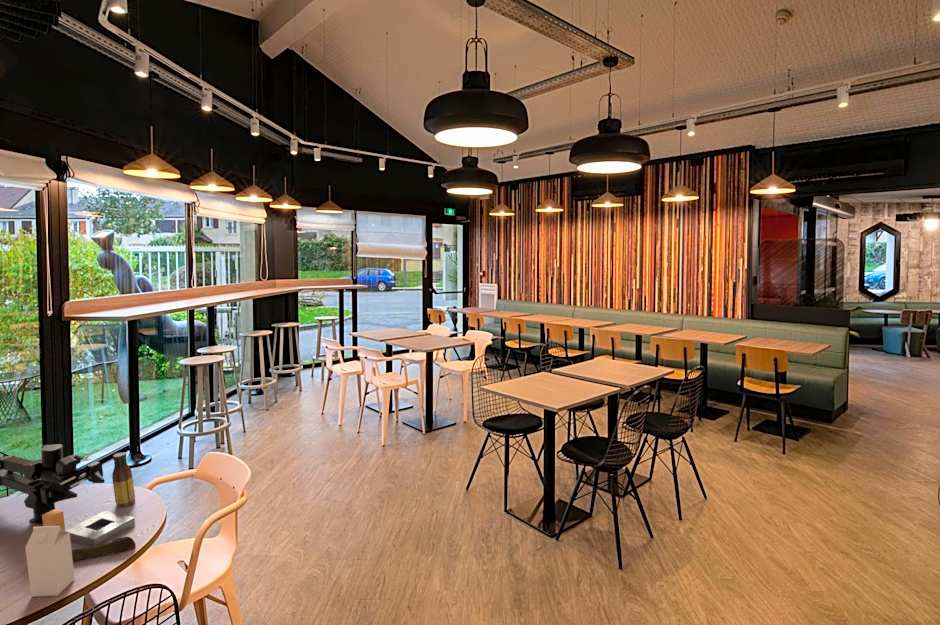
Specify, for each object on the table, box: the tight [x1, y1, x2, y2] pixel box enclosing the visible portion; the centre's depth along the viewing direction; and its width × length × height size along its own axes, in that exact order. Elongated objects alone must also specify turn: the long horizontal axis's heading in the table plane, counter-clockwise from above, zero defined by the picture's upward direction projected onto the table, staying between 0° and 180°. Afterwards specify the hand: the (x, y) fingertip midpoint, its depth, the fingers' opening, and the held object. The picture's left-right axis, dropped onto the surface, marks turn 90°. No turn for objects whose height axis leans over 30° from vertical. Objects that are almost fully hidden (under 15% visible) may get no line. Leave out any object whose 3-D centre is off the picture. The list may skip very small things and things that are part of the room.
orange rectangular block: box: [42, 508, 66, 531], centre depth 175 cm, size 4×4×8 cm
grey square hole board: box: [65, 510, 136, 547], centre depth 177 cm, size 14×14×3 cm
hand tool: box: [71, 536, 136, 562], centre depth 164 cm, size 19×4×5 cm, turn 112°
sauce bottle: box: [111, 452, 136, 508], centre depth 194 cm, size 7×6×20 cm
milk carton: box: [25, 526, 76, 598], centre depth 147 cm, size 7×7×19 cm
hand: (90, 488), depth 174 cm, fingers open, 9 cm apart
